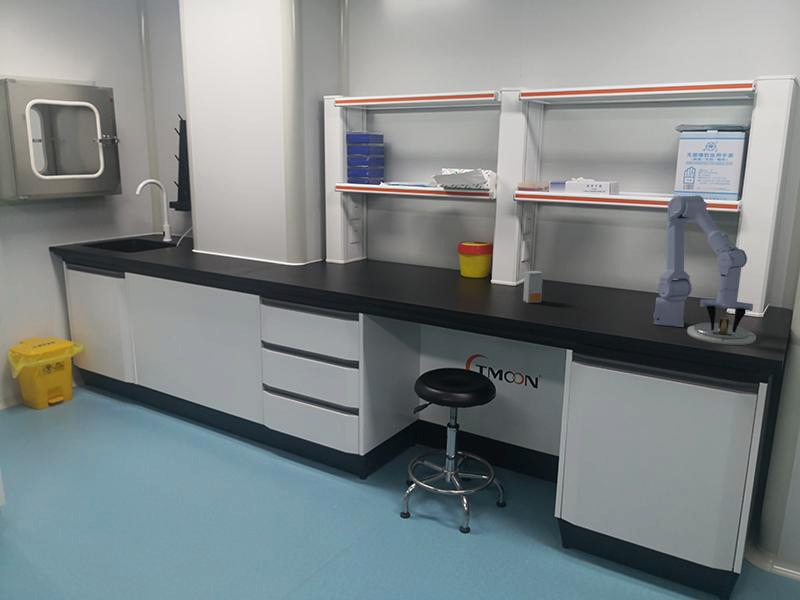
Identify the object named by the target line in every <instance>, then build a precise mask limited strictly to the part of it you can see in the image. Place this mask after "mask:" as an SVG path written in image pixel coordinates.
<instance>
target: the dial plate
mask: <svg viewBox="0 0 800 600" xmlns="http://www.w3.org/2000/svg"><path fill="white" fill-rule="evenodd" d="M695 325H696V324H694V325H690V326H688V327H687V330H686V333H687V335H688V336H689V337H691V338H693V339H696V340H698V341H703V342H705V343H711V344H717V345H726V346H747V345H751V344H754V343H755V342H756V339H757V335H756V334H755V333H754V332H751V331H749V330H748V331H749V336H748V337H746V338H740V339H726V338H717V337H712V336H707V335H704V334H701V333H698V332H696V331H695V330H694V326H695Z"/></svg>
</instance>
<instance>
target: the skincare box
mask: <svg viewBox="0 0 800 600" xmlns="http://www.w3.org/2000/svg"><path fill="white" fill-rule="evenodd" d="M543 278H544V272H542V271H539V270H530V271H529V270H527V271H524V280H523V297H522V298H523V299H522V301H523V302H525V303H527V304H530V303H531V304H532V303H541V302H542V295H543V291H542V290H543V281H544V280H543Z"/></svg>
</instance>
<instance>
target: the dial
mask: <svg viewBox="0 0 800 600" xmlns="http://www.w3.org/2000/svg"><path fill="white" fill-rule="evenodd" d="M694 325H695V326H694V330H695V331H696V332H698V333H701V334H704V335H707V336H712V337H717V338H726V339H740V338H746V337H748V336H749V330H748V329H746V328H744V327H741V326H739V325H738V326H737V329H736V332H733V331H732V330H733V324H730V318H727V317H719V322H714V330H711V322H702V323H697V324H694Z"/></svg>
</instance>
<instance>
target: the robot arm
mask: <svg viewBox="0 0 800 600" xmlns="http://www.w3.org/2000/svg"><path fill="white" fill-rule="evenodd" d="M707 205H708V204H707V202H705V200H704V198H703V197H702V196H701V195H699V194H697V195H684V196H681V195H676V196H673V197H672V198H671V200H669V201H668V203H667V218H666V271H665V272H664V273H662V274H661V275H660V277H659V283H658V286H657V291H658V295H659V296H660V297H655V298H656V299H655V309H654V312H653V317H652V318H653V324H654V325H657V326H668V327H680V328H684V327H685V326H684V325H685V323H684V322H685V321H684V320H683V319H684V313H685V311H684V310H685V304H686V303H685V302H686V300H687V298H688V296H690V294H691V293H692V287H693V286H692V283H691V280H690V275H689V274H688V273H687V271H685V225H686V224H687V222H688V221H690V220H691V219H693V220H695V222H696V223H697V224H698V225H699V227H700V228H701V229H702V231H704V233H705V234H706V236H707V238H706V239H707V241H706V242H707V243H708V245H709V246H710V248H711V249H712V250H713V252H714V254H715V255H716V256H717V258H716V263H717V266H718V273H719V277H718V278H719V279H718V285H717V286H718V287H717V293H716V299H703V298H702V299H700V305H699V306H700V307H701V308H702V307H703V308H704V307H706V310H707V313H708V315H709V319H710V323H711V330H714V323H715V318H716V311H717V310H716V308H719V309H720V308H721V309H731V310H732V309H733V310H734V320H733V324H732V325H733V330H732V331H733V332H736V329H737V326H738V327H739V324H740V322H741V321H742V319H743V317H744V316H745V315H746V312H747V311H750V312H752V311H753V309H754V304H753V303H750V302H749V303H747V302H742V301H738V297H739V288H740V283H741V282H740V281H741V272H742V268H743V267H745V266H746V264H747V262H748V256H747V254H746V251H745V250H743V249H741V248H738V247H737V245H736V244H734V242H733V241H732V240H731V238H730V237H729V234H728V232H727V231H724V230H720V229H719V228H718V227H717V225H716V223H715V222H714V220H713V218H712V216H711V215H710V213H709V210H708V209H707V207H708V206H707Z"/></svg>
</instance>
